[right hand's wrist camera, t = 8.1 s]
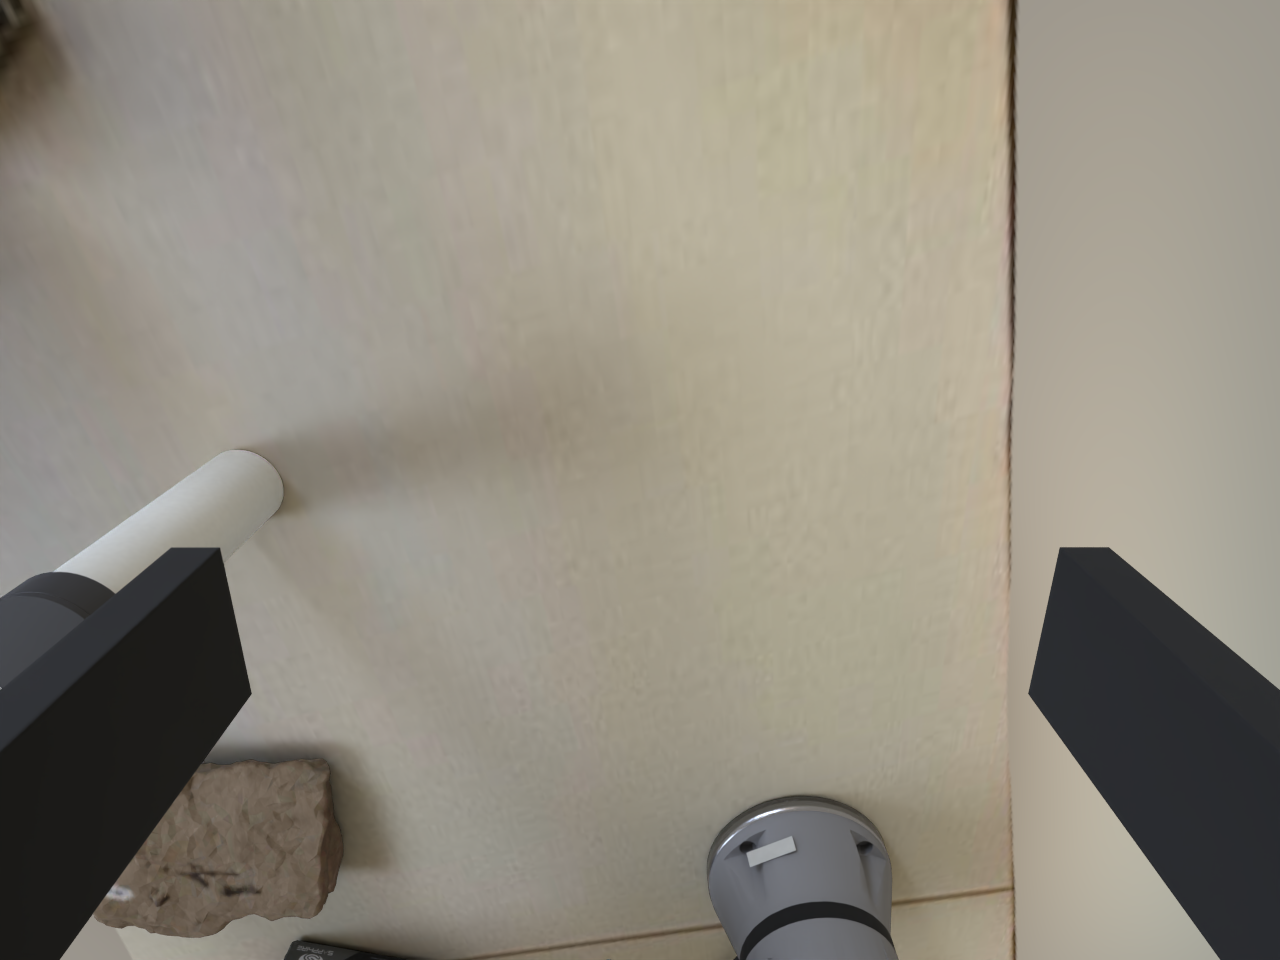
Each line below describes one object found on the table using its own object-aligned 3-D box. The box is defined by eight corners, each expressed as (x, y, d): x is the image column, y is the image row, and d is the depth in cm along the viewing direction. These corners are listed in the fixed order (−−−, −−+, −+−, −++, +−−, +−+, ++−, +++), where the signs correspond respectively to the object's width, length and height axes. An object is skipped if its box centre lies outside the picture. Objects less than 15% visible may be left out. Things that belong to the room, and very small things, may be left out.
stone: (81, 914, 67) (40, 968, 61) (64, 745, 64) (21, 784, 58) (349, 889, 70) (335, 938, 64) (342, 728, 68) (327, 764, 62)
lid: (162, 618, 39) (133, 645, 37) (107, 700, 41) (77, 730, 39) (40, 547, 38) (4, 571, 35) (-10, 635, 39) (-49, 663, 37)
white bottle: (298, 480, 56) (128, 641, 37) (260, 535, 57) (79, 715, 39) (228, 433, 55) (16, 577, 36) (191, 491, 56) (-30, 656, 38)
